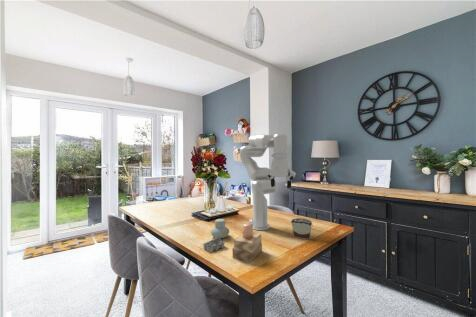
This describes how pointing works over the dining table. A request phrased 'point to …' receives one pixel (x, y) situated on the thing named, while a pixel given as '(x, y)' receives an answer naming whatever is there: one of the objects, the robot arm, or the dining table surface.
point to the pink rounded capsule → (247, 230)
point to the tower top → (247, 243)
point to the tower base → (247, 254)
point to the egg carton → (214, 244)
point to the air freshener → (220, 229)
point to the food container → (301, 228)
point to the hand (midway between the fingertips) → (280, 187)
